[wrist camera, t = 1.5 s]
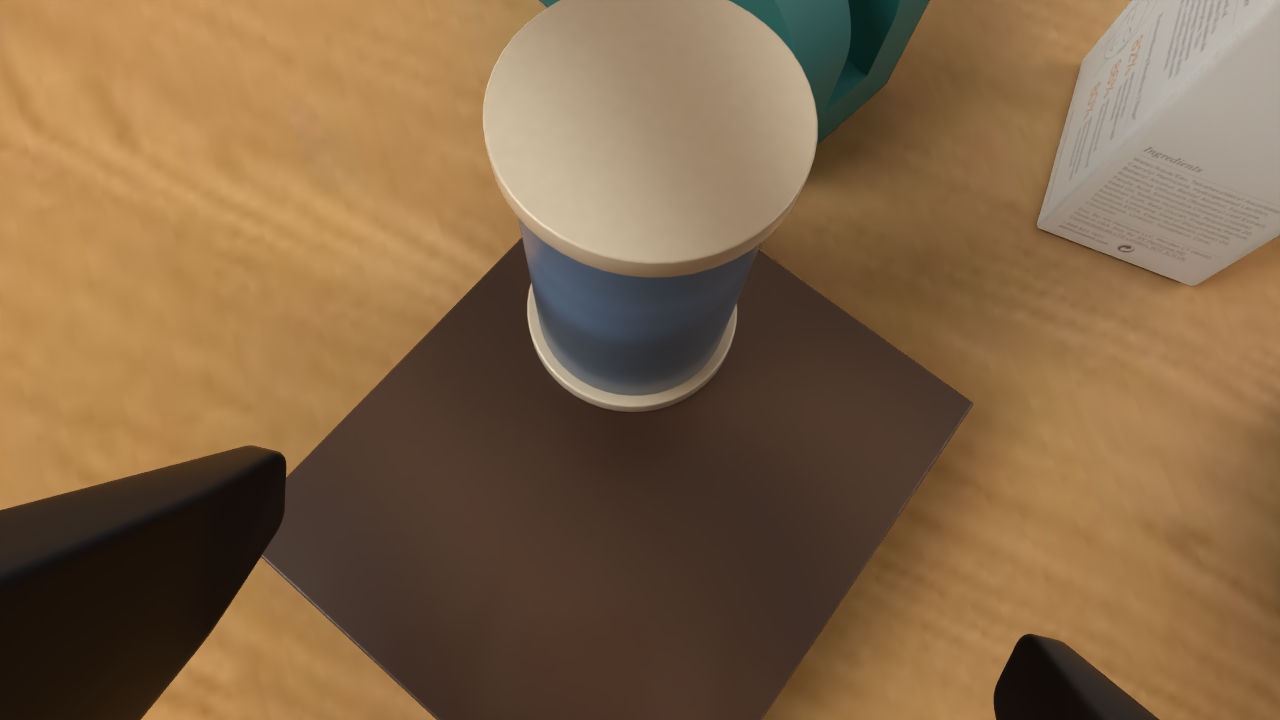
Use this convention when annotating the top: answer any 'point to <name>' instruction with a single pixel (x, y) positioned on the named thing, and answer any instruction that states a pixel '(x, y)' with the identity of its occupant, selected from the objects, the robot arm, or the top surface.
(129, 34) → the top surface
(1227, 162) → the small box
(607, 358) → the spool
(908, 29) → the bracket
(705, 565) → the platform
